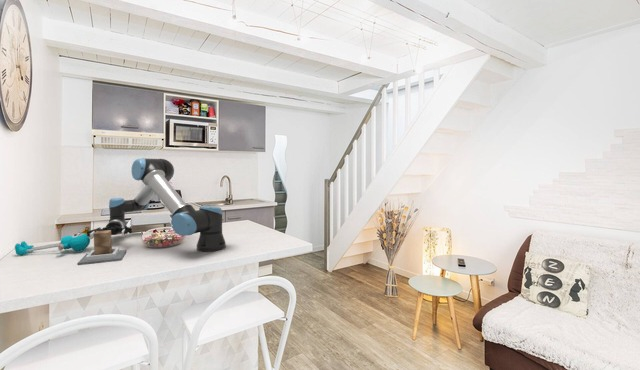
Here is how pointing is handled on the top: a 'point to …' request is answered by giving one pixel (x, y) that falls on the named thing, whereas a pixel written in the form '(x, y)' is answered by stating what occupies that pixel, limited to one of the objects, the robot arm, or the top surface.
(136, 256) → the top surface
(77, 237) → the toy
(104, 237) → the brown wooden block
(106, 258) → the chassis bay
